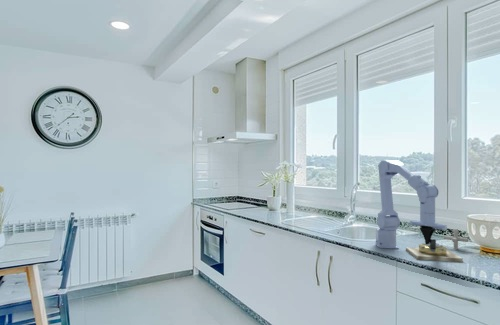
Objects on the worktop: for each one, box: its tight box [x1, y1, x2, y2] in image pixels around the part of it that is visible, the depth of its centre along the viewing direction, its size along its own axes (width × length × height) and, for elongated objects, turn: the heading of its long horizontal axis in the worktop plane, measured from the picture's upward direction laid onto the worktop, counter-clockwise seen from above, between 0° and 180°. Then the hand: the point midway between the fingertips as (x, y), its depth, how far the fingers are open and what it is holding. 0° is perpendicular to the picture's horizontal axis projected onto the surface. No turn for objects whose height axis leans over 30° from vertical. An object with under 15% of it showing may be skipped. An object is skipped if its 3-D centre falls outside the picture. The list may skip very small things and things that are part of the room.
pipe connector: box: [443, 228, 469, 250], centre depth 156 cm, size 10×10×10 cm
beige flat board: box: [405, 246, 464, 263], centre depth 144 cm, size 18×16×2 cm
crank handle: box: [418, 238, 448, 256], centre depth 142 cm, size 16×11×8 cm
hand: (427, 243), depth 137 cm, fingers closed
